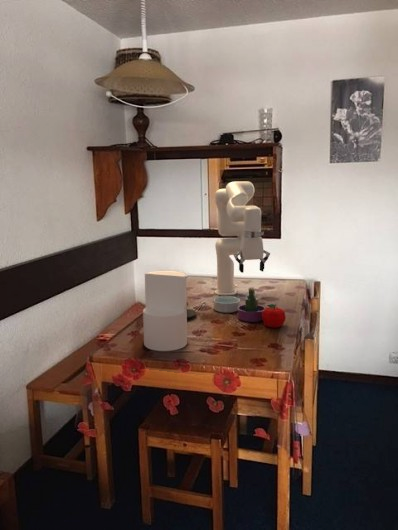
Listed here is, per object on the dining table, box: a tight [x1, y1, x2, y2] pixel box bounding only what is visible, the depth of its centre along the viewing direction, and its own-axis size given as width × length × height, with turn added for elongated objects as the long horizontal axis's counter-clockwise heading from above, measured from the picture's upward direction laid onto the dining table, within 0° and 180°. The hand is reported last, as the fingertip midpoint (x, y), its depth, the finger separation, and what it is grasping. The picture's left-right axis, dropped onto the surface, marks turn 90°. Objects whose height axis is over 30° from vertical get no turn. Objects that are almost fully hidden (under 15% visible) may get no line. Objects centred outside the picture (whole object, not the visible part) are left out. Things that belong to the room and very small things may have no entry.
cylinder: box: [142, 270, 188, 352], centre depth 181 cm, size 17×17×28 cm
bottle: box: [244, 286, 259, 312], centre depth 213 cm, size 6×6×14 cm
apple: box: [262, 303, 287, 329], centre depth 203 cm, size 11×11×10 cm
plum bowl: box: [237, 304, 266, 323], centre depth 214 cm, size 13×13×5 cm
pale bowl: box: [213, 296, 241, 314], centre depth 229 cm, size 13×13×5 cm
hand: (251, 271), depth 211 cm, fingers open, 9 cm apart
